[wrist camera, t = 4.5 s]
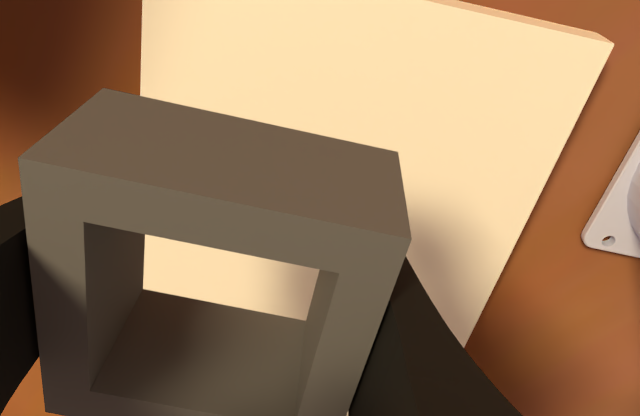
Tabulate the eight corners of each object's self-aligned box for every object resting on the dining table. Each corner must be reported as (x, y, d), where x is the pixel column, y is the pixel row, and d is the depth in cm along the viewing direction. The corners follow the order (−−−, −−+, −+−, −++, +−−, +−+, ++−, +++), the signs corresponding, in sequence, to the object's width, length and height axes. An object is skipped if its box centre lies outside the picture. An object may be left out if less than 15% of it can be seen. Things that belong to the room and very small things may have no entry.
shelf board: (596, 32, 18) (701, 98, 12) (400, 447, 31) (409, 572, 25) (159, -69, 17) (65, -46, 12) (142, 399, 30) (93, 517, 24)
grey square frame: (397, 152, 10) (411, 239, 8) (333, 352, 13) (328, 462, 11) (103, 87, 10) (18, 157, 8) (105, 308, 13) (45, 412, 11)
